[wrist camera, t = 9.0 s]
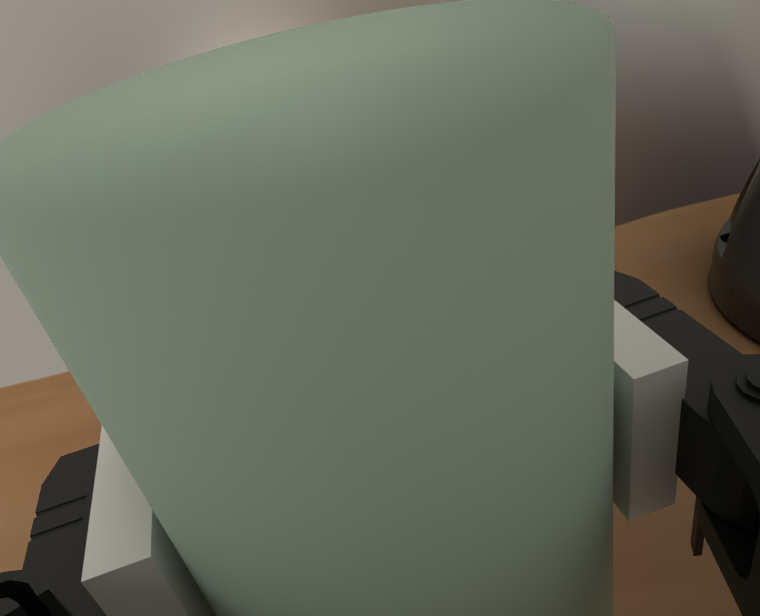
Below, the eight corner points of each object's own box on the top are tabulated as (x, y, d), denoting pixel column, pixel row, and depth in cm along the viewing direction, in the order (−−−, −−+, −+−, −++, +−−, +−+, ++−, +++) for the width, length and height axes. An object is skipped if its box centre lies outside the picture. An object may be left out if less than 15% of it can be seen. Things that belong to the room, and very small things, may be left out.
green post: (283, 614, 15) (29, 98, 8) (517, 519, 16) (452, -14, 9) (347, 957, 10) (-172, 331, 3) (685, 788, 11) (806, 34, 4)
